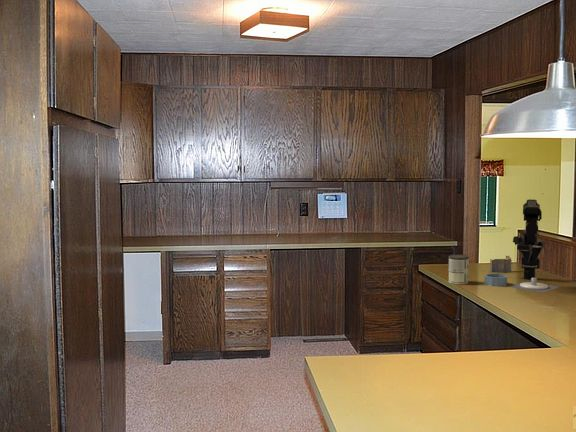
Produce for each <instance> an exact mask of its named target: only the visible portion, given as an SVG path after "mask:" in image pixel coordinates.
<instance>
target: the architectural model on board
mask: <svg viewBox="0 0 576 432" xmlns="http://www.w3.org/2000/svg"><path fill="white" fill-rule="evenodd" d="M489 272H490V273H512V258H511V256H510V255H505V258H494V259H491V258H490V261H489Z"/></svg>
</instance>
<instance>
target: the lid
mask: <svg viewBox="0 0 576 432" xmlns="http://www.w3.org/2000/svg"><path fill="white" fill-rule="evenodd" d="M537 278H538V277H535V278H531V280H530V281H524V282H525V283H523V282H520V283H521V284H520V283H519V284H520V287H522V288H526V289H534V290H542V289H547V288H548V285H549V284H546V283H541V282H538V279H537Z"/></svg>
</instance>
